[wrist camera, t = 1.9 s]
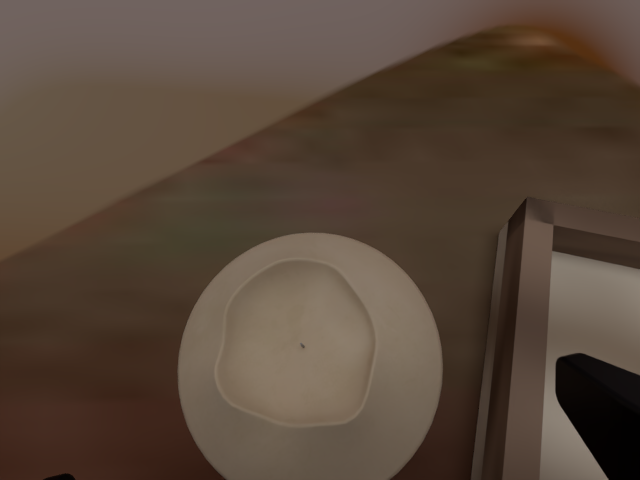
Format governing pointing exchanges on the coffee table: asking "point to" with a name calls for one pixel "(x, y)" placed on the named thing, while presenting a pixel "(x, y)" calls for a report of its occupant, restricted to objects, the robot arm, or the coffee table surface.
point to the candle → (310, 363)
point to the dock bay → (553, 334)
